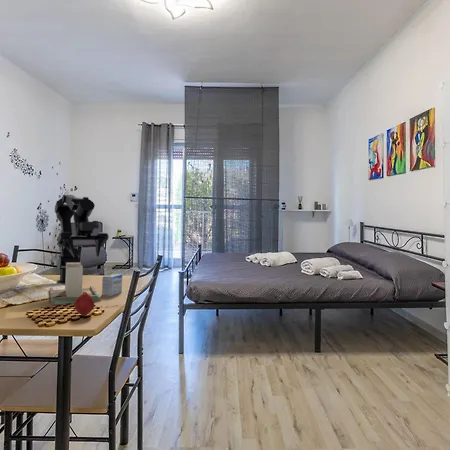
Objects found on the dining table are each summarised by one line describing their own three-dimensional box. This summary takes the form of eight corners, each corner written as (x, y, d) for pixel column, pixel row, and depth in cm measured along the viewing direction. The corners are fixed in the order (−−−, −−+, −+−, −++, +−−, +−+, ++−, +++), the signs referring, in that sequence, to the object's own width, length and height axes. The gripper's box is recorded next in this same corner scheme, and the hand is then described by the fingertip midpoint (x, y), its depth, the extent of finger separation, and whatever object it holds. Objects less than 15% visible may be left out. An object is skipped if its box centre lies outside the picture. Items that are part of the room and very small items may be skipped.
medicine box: (111, 299, 135) (112, 277, 134) (101, 298, 135) (102, 276, 135) (121, 295, 142) (122, 274, 142) (111, 294, 143) (112, 273, 143)
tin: (64, 290, 139) (66, 262, 139) (78, 289, 142) (79, 262, 141) (66, 297, 129) (68, 267, 128) (81, 296, 131) (83, 266, 131)
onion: (77, 313, 115) (78, 289, 114) (95, 313, 115) (96, 289, 115) (71, 318, 109) (72, 292, 109) (90, 318, 109) (91, 293, 109)
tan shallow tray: (49, 293, 139) (49, 285, 139) (92, 291, 146) (92, 283, 146) (50, 308, 118) (51, 298, 118) (100, 305, 126) (101, 295, 126)
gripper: (62, 212, 136) (66, 247, 130) (109, 214, 148) (115, 246, 141) (56, 226, 144) (59, 260, 137) (101, 227, 155) (107, 259, 149)
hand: (86, 256), depth 141 cm, fingers open, 9 cm apart
